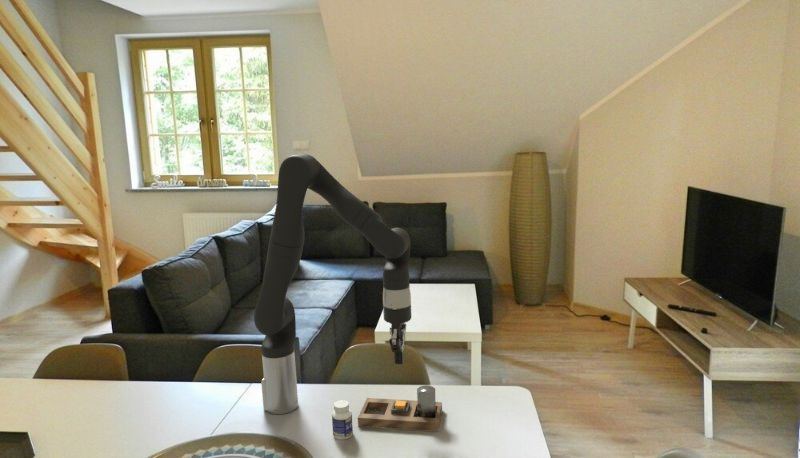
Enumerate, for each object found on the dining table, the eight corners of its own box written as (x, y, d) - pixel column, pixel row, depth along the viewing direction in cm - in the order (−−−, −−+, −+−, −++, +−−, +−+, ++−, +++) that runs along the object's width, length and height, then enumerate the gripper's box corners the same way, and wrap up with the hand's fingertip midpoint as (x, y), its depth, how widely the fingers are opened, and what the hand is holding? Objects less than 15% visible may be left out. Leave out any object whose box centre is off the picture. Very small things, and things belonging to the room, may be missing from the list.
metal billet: (416, 423, 147) (415, 393, 145) (419, 414, 152) (418, 384, 150) (434, 425, 146) (434, 394, 144) (436, 415, 151) (436, 385, 149)
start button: (394, 409, 149) (394, 405, 148) (396, 404, 151) (396, 400, 151) (404, 410, 148) (404, 406, 148) (406, 404, 151) (406, 400, 151)
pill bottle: (349, 441, 140) (347, 409, 138) (330, 439, 141) (328, 408, 139) (355, 429, 145) (353, 399, 144) (336, 428, 146) (335, 398, 145)
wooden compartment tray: (358, 426, 147) (357, 413, 146) (367, 405, 158) (366, 394, 157) (438, 431, 143) (437, 418, 142) (442, 410, 154) (441, 398, 153)
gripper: (388, 294, 151) (390, 352, 154) (378, 310, 138) (380, 373, 142) (414, 295, 150) (416, 353, 153) (406, 311, 137) (408, 374, 140)
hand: (399, 363), depth 147 cm, fingers closed
